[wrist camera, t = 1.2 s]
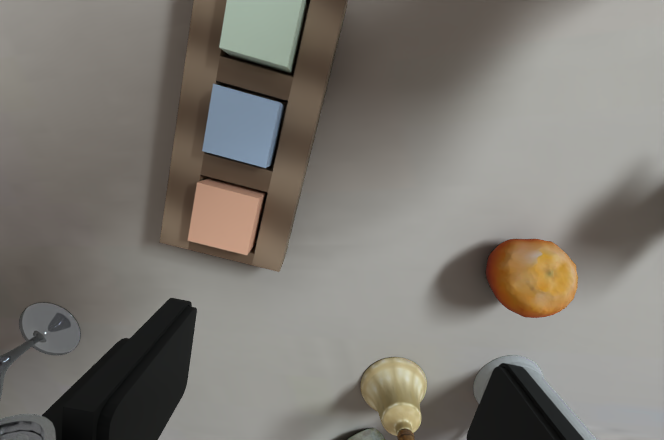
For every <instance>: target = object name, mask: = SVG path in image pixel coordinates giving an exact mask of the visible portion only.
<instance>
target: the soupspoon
mask: <svg viewBox="0 0 664 440" xmlns="http://www.w3.org/2000/svg"><path fill="white" fill-rule="evenodd" d="M347 440H385V439H384V437H383V435H382V434H381V433H380V432H379V431H377V430H376V429H374V428H370V429H366V430H363V431H361V432H359V433H357V434H355V435H353V436H352V437H350V438H349V439H347Z"/></svg>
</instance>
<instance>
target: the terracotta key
mask: <svg viewBox="0 0 664 440" xmlns="http://www.w3.org/2000/svg"><path fill="white" fill-rule="evenodd" d="M265 194H266V193H265V192H261V191H257V190H253V189H250V188H246V187H242V186H238V185H234V184H230V183H227V182H223V181H219V180H215V179H211V178H208V179H205V180H202V181H200V182H197V186H196V192H195V198H194V204H193V210H192V216H191V223H190V229H189V235H188V241H191V242H195V243H199V244H203V245H207V246H211V247H215V248H219V249H223V250H227V251H231V252H235V253H240V254H244V255H248V253H249V252H250V250H251V249H252V248H253V246H254V245H255V240H256V235H257V231H258V226H259V222H260V217H261V213H262V208H263V203H264V199H265Z"/></svg>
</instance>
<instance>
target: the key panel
mask: <svg viewBox="0 0 664 440" xmlns="http://www.w3.org/2000/svg"><path fill="white" fill-rule="evenodd" d="M226 3H227V0H194V1H193V9H192V16H191V23H190V30H189V37H188V44H187V51H186V58H185V65H184V72H183V80H182V87H181V94H180V101H179V108H178V115H177V122H176V129H175V136H174V143H173V150H172V158H171V165H170V172H169V179H168V186H167V193H166V200H165V207H164V214H163V221H162V229H161V236H160V243H164V244H168V245H172V246H176V247H180V248H184V249H188V250H192V251H196V252H200V253H204V254H209V255H213V256H217V257H221V258H225V259H229V260H233V261H237V262H241V263H245V264H249V265H253V266H257V267H262V268H266V269H270V270H274V271H278V272H279V271H280V269H281V266H282V264H283V261H284V258H285V255H286V251H287V247H288V243H289V239H290V235H291V231H292V227H293V222H294V218H295V214H296V210H297V206H298V202H299V198H300V194H301V190H302V186H303V182H304V178H305V174H306V170H307V166H308V162H309V158H310V154H311V150H312V145H313V141H314V137H315V133H316V129H317V125H318V121H319V117H320V113H321V109H322V105H323V101H324V97H325V93H326V89H327V85H328V81H329V77H330V73H331V68H332V64H333V60H334V56H335V52H336V48H337V44H338V40H339V36H340V32H341V28H342V24H343V20H344V16H345V12H346V8H347V0H306V4H307V7H306V12H305V16H304V21H303V26H302V30H301V35H300V39H299V44H298V48H297V53H296V58H295V62H294V67H293V71H292V74H291V73H287V72H284V71H280V70H277V69H273V68H270V67H266V66H263V65H259V64H256V63H252V62H249V61H246V60H242V59H239V58H235V57H232V56H230V55H228V54H227V53H226V52H224V51H223V50H222V49H221V48H219V45H220V39H221V33H222V27H223V21H224V15H225V9H226ZM213 84H216V85H220V86H223V87H227V88H230V89H234V90H237V91H241V92H244V93H248V94H252V95H255V96H259V97H262V98H266V99H269V100H273V101H276V102H280V103H282V104H283V105H285V108H284V112H283V117H282V121H281V126H280V130H279V135H278V140H277V144H276V149H275V153H274V158H273V162H272V165H271V166H269V167H267V168H264V167H260V166H256V165H252V164H249V163H245V162H241V161H237V160H234V159H230V158H226V157H222V156H219V155H215V154H211V153H207V152H204V151H202V149H203V143H204V137H205V131H206V125H207V119H208V113H209V106H210V100H211V94H212V88H213ZM208 178H211V179H215V180H219V181H223V182H227V183H230V184H234V185H238V186H242V187H246V188H250V189H253V190H257V191H261V192H265V193H266V194H265V199H264V203H263V208H262V213H261V217H260V222H259V226H258V231H257V235H256V240H255V245H254V246H253V248H252V249H251V250H250V252H249V253H248V255H244V254H240V253H235V252H231V251H227V250H223V249H219V248H215V247H211V246H207V245H203V244H199V243H195V242H191V241H188V235H189V229H190V223H191V216H192V210H193V204H194V198H195V192H196V186H197V182H200V181H202V180H205V179H208Z"/></svg>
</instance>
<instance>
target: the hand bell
mask: <svg viewBox="0 0 664 440" xmlns="http://www.w3.org/2000/svg"><path fill="white" fill-rule="evenodd" d="M360 387H361V393H362V396H363V398H364V400H365V401H366V402H367V404H368V405H369V406H370V407H371V408H373V409H374V410H376V411H378V413H379V416H380V419H381V422H382V425H383V427H384V428H385V430H386V431H387V432H389V433H390V434H392V435H395V436H397V437H398V440H415V439H414V434H413V433H414V432H415V431H416V430H417V429H418V428H419V426H420V424H421V412H420V402H421V401H422V400H423V398H424V396H425V393H426V389H427V380H426V377H425V374H424V372H423V371H422V369H421V368H420V367H419V366H418V365H417V364H415V363H414V362H412V361H410V360H408V359H405V358H399V357H391V358H385V359H382V360H379V361H377V362H376V363H374V364H372V365H371V366H370V367H369V368H368V369H367V370H366V371H365V373H364V375H363V377H362V380H361V386H360Z"/></svg>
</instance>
